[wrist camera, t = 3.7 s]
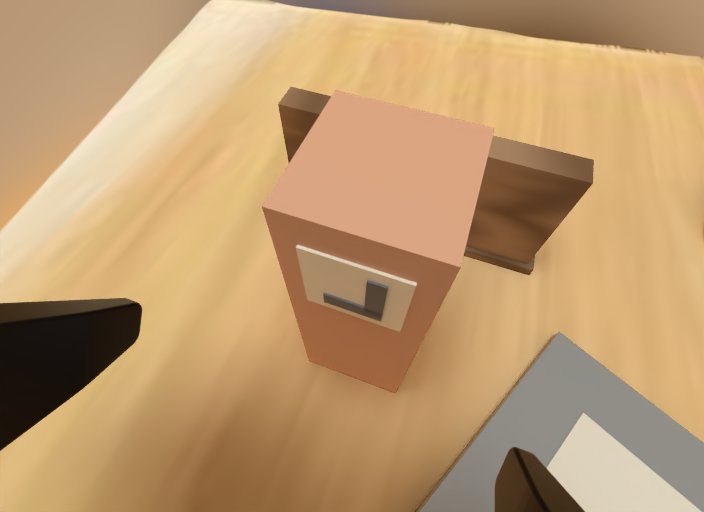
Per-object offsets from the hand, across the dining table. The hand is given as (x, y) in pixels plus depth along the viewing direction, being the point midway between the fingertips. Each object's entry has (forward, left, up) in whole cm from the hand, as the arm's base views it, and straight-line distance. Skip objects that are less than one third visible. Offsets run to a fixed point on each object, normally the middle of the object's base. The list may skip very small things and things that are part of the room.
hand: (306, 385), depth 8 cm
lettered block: (+4, +4, -12) cm, 13 cm away
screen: (+11, +9, -12) cm, 19 cm away
